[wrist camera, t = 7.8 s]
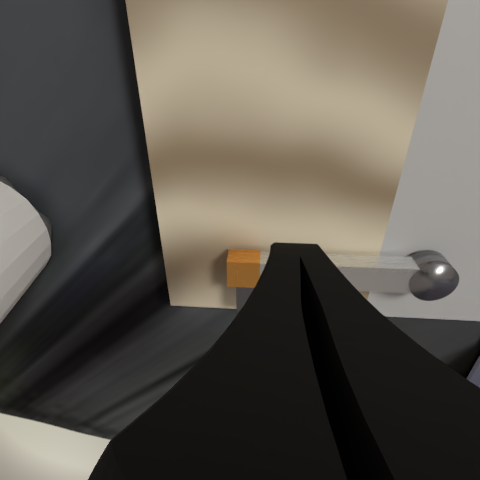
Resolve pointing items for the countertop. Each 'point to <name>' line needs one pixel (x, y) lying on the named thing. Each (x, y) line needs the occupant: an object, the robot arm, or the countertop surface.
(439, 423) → the robot arm
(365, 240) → the door panel
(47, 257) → the cup
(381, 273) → the bar
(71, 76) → the countertop surface
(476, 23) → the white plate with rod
